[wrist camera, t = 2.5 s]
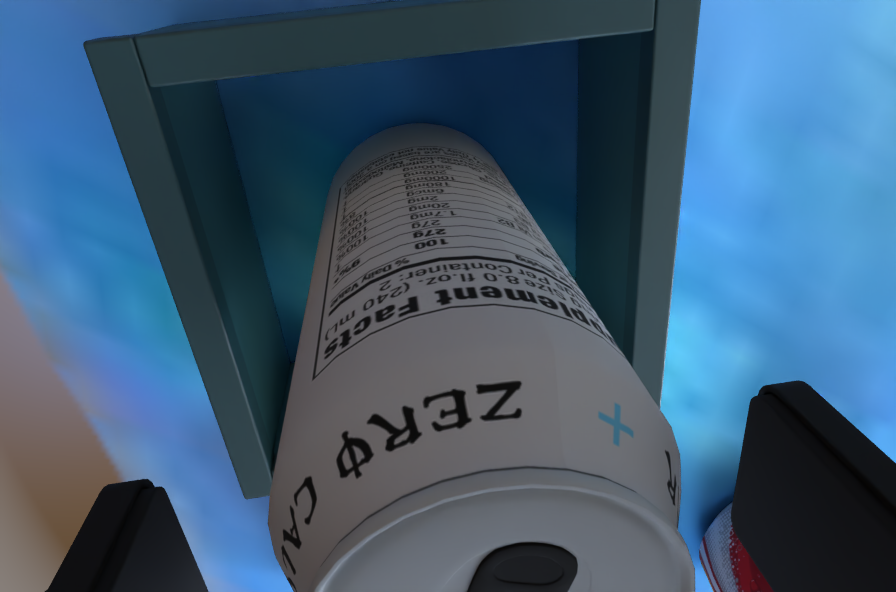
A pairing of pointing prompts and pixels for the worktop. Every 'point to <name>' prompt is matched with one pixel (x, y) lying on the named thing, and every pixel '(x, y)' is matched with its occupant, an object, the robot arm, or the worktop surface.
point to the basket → (376, 40)
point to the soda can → (729, 559)
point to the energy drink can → (463, 399)
